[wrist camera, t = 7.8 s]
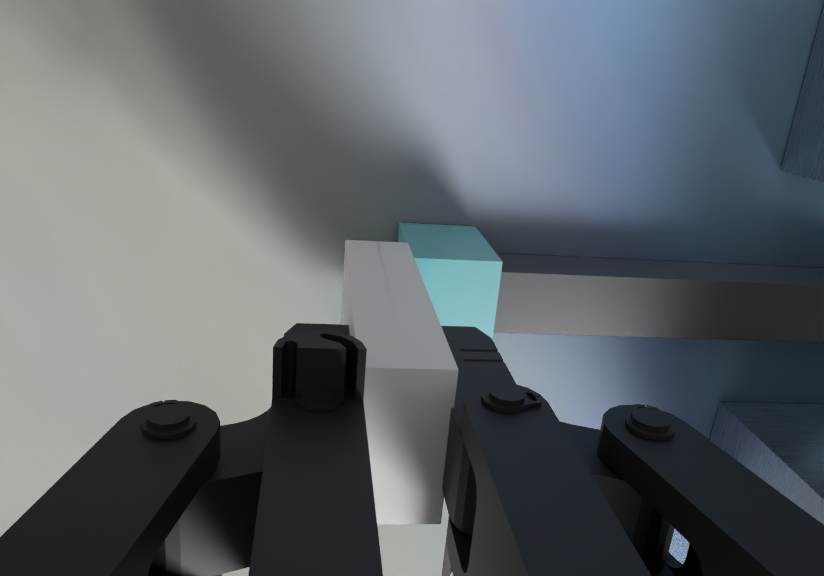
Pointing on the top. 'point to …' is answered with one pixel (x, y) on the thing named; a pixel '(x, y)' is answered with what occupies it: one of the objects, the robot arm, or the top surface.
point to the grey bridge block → (780, 422)
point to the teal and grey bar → (611, 292)
